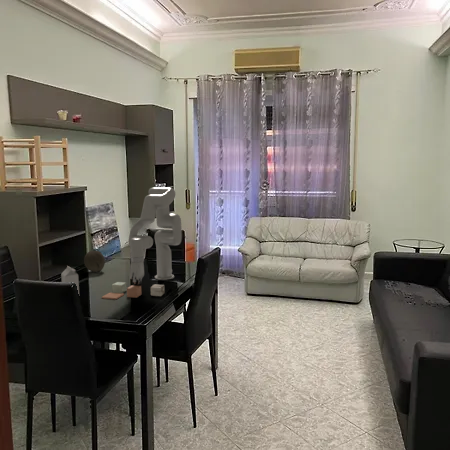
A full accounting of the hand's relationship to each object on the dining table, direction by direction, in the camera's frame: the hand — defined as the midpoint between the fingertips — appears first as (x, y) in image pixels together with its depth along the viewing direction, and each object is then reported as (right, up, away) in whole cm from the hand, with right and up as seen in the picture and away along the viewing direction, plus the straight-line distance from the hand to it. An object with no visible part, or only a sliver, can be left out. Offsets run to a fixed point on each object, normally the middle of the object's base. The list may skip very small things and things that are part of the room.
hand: (138, 290), depth 263 cm
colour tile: (-13, -3, -7) cm, 15 cm away
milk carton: (-34, -4, -14) cm, 37 cm away
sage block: (-12, -2, +3) cm, 12 cm away
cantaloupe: (-40, +5, +51) cm, 65 cm away
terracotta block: (-1, -2, -5) cm, 6 cm away
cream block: (+12, -2, -2) cm, 12 cm away
